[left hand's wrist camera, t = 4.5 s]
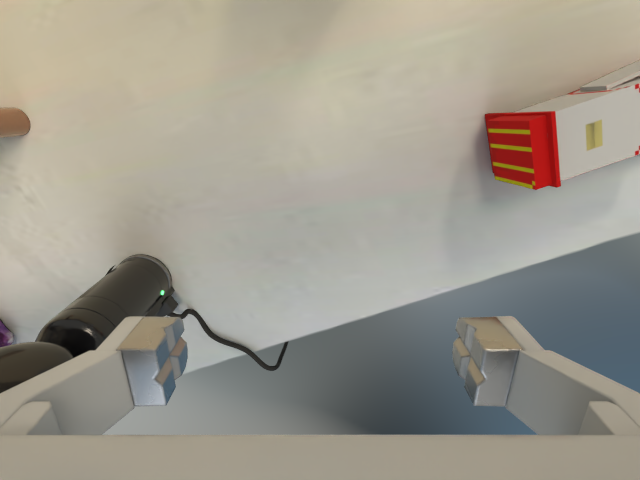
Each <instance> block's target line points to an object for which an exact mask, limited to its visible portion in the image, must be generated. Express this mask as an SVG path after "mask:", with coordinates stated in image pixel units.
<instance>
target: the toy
mask: <svg viewBox="0 0 640 480" xmlns="http://www.w3.org/2000/svg"><path fill="white" fill-rule="evenodd" d="M485 120H486V127H487V134H488V141H489V148H490V156H491V163H492V170H493V173H494V175H495V180H499V181H503V182H507V183H511V184H515V185H519V186H523V187H527V188H531V189H535V190H537V189H540V188H543V187H546V186H553V187H560V186H561V181H563V180H566V179H569V178H572V177H575V176H577V175H580V174H583V173H586V172H589V171H592V170H595V169H598V168H601V167H604V166H606V165H609V164H612V163H615V162H618V161H621V160H624V159H627V158H630V157H633V156H637V155H640V60H639V61H636V62H634V63H632V64H630V65H628V66H625V67H623V68H621V69H619V70H617V71H614V72H612V73H610V74H608V75H605V76H603V77H601V78H599V79H597V80H594V81H592V82H590V83H588V84H586V85H583V86H581V87H580V90H577V91H574V92H572V93H569V94H567V95H563V96H559V97H556V98H553V99H550V100H547V101H544V102H542V103H539V104H536V105H533V106H530V107H527V108H524V109H521V110H518V111H515V112H512V113H490V114H485Z"/></svg>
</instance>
